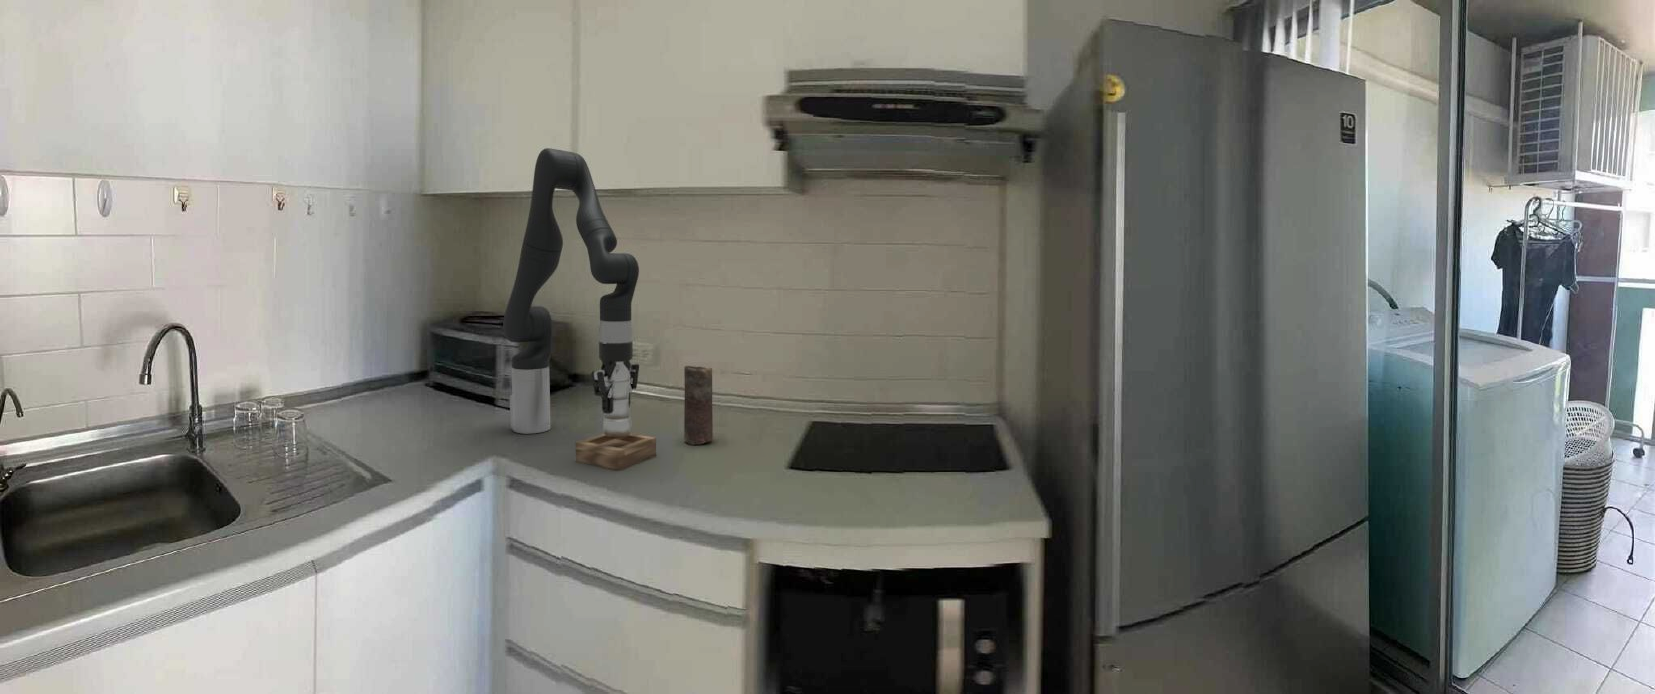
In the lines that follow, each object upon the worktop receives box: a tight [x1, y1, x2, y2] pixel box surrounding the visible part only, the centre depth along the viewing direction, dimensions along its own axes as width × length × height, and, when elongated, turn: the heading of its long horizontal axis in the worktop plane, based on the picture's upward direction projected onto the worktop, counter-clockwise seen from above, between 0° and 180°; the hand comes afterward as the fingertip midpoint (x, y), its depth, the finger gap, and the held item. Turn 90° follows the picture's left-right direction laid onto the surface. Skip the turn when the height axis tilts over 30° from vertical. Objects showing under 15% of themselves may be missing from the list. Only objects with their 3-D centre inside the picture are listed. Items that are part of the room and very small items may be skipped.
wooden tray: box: [575, 432, 657, 471], centre depth 166 cm, size 13×13×4 cm
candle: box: [683, 365, 714, 446], centre depth 182 cm, size 8×7×20 cm
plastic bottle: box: [602, 361, 633, 438], centre depth 165 cm, size 6×7×20 cm
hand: (616, 410), depth 165 cm, fingers closed on plastic bottle, 5 cm apart
